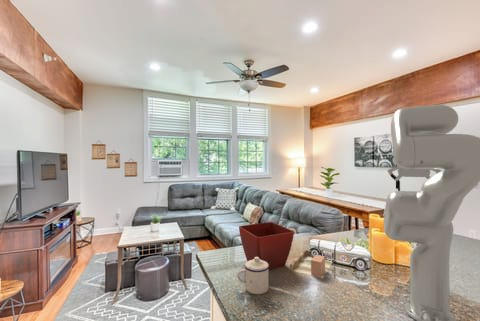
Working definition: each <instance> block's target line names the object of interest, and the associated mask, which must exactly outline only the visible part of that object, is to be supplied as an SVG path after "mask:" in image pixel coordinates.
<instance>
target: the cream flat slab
mask: <svg viewBox="0 0 480 321" xmlns="http://www.w3.org/2000/svg"><path fill="white" fill-rule="evenodd" d="M311 251H312V250H309V249H304V250H303V251H302V252H301V253H299V254H298V256H296V258H295V259H294V260H293V261H292V262H291V263H290V264H289V270H290V271H292V272H295V273H296V272H297V273H300V274H304V275H307V276H312V277H317V278H321V279H324V278H325V276H326V275H327V273H328V271H329V269H330V268H331V265H332V264H333V262H332V261H329V260H325V271H324V273H323V275H322V276H321V277H319V276H315V275H311V260H312V257H311V256H310V252H311Z"/></svg>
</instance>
